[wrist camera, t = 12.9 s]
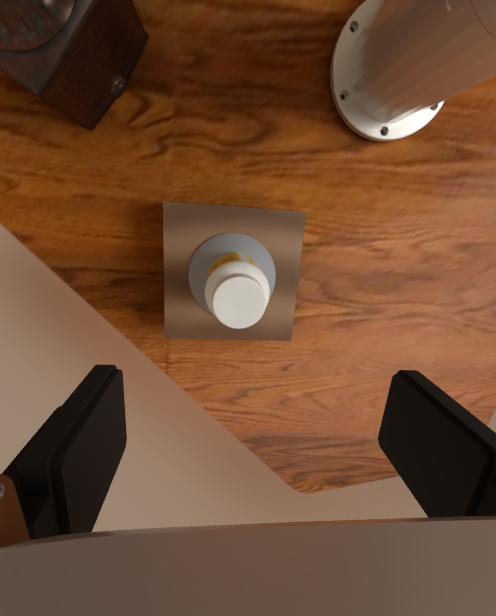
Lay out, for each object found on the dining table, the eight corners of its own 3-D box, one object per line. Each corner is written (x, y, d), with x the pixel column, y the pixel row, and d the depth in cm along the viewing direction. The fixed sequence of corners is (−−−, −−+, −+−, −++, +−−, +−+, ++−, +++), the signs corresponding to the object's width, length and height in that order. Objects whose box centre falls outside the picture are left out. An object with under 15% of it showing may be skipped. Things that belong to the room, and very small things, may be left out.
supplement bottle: (265, 258, 31) (286, 277, 22) (251, 307, 32) (265, 344, 23) (214, 244, 30) (212, 258, 21) (202, 295, 31) (195, 329, 22)
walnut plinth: (169, 202, 32) (162, 201, 28) (296, 211, 34) (307, 211, 30) (170, 324, 36) (164, 338, 32) (283, 328, 38) (291, 341, 34)
